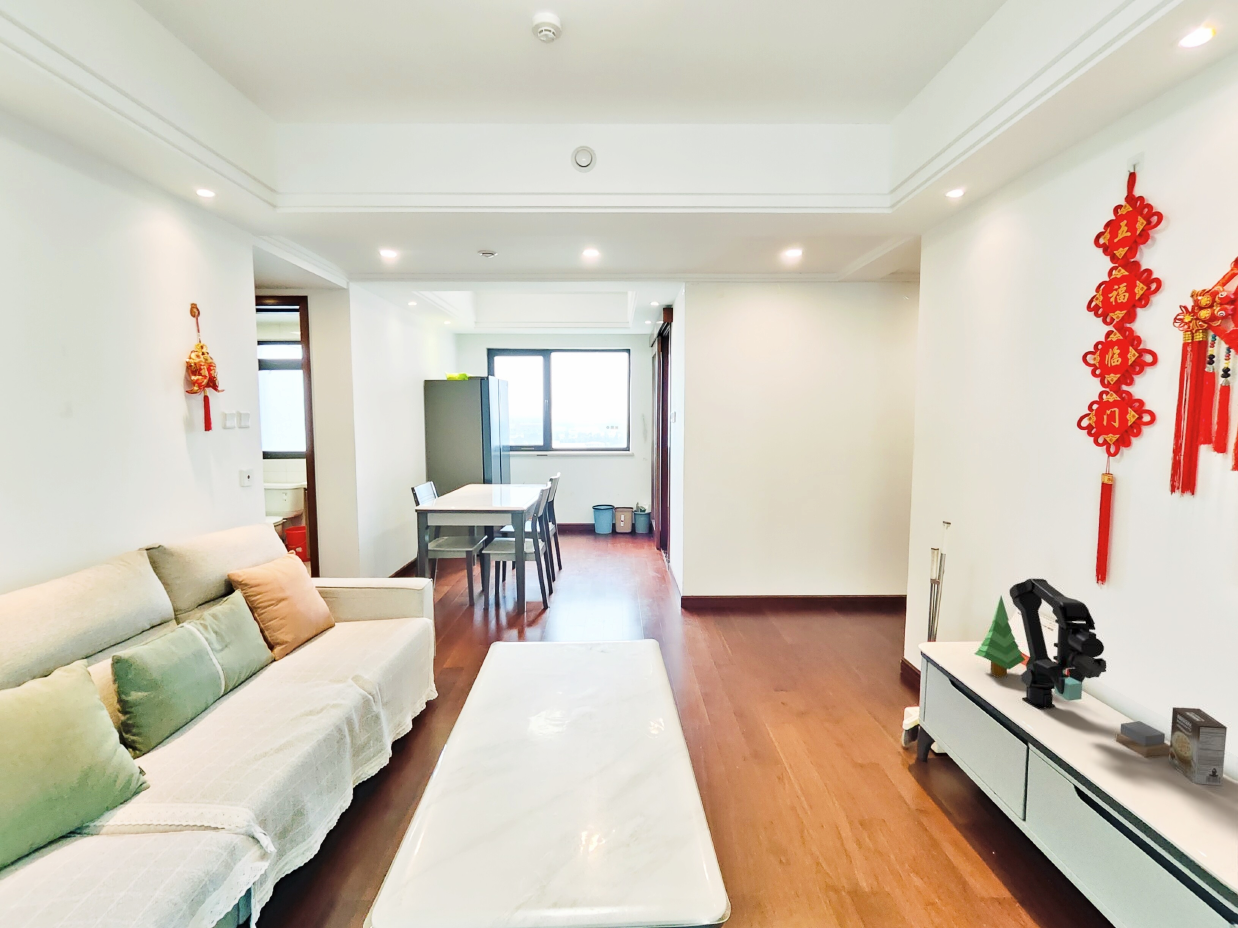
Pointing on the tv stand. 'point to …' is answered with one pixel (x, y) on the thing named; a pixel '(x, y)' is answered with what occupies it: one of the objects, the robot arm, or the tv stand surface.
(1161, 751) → the walnut base block
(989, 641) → the decorative tree
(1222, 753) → the coffee box
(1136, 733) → the charcoal middle block
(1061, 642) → the robot arm
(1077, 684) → the teal block
